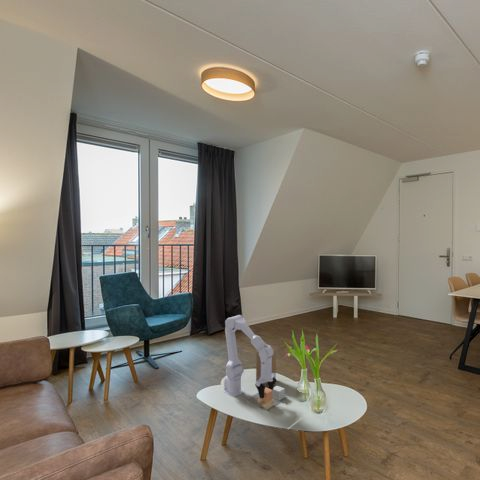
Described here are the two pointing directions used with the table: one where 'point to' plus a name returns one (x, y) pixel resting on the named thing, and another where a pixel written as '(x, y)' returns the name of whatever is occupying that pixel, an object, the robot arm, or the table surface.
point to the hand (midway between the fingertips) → (265, 394)
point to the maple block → (266, 404)
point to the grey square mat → (254, 400)
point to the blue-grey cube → (278, 393)
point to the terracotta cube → (267, 395)
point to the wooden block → (258, 366)
